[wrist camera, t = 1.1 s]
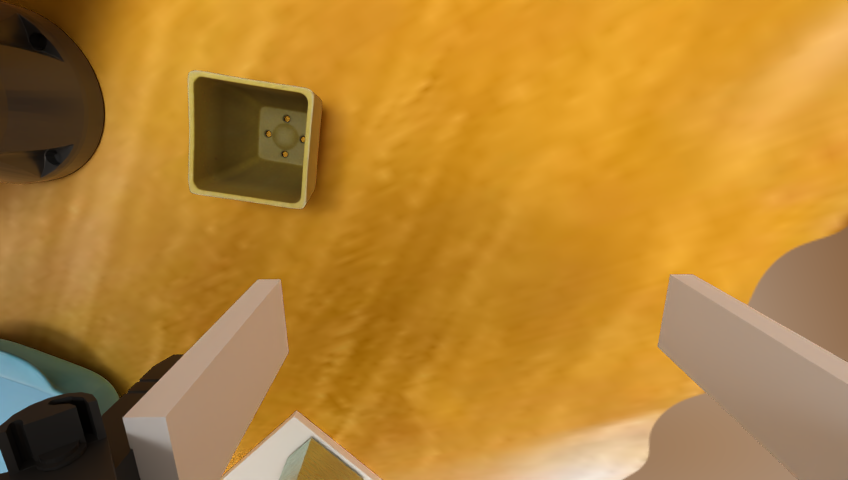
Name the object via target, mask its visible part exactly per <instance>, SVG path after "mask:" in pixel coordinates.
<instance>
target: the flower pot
mask: <svg viewBox="0 0 848 480" xmlns="http://www.w3.org/2000/svg"><path fill="white" fill-rule="evenodd" d="M188 103H189V174H188V181H189V188H190V192H191V193H193V194H197V195H204V196H211V197H218V198H226V199H233V200H240V201H247V202H253V203H259V204H266V205H273V206H279V207H286V208H292V209H303V208H304V207H305V205H306V204H307V202H308V200H309V199H310V197H311V195H312V193H313V192H314V189H315V186H316V177H317V162H318V149H319V137H320V126H321V116H322V101H321V99H320V98H319V97H318V96H317V95H316V94H315V93H313V92H312V91H311V90H310V89H308V88H304V87H297V86H291V85H284V84H277V83H271V82H264V81H258V80H251V79H245V78H239V77H233V76H227V75H222V74H216V73H211V72H205V71H197V70H195V71H191V72H189V74H188ZM285 116H289V117H290V121H289V122H286V121H285V120H284V117H285ZM266 131H270V132H271V137H267V136H266ZM302 136H304V137H305V142H304V143H303V142H301V137H302ZM283 151H286V152H287V153H288V156H287V157H283V156H282V152H283Z"/></svg>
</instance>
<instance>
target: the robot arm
mask: <svg viewBox="0 0 848 480" xmlns="http://www.w3.org/2000/svg"><path fill="white" fill-rule="evenodd" d="M103 121H104V109H103V100H102V95H101V91H100V87H99V84H98V81H97V79H96V76H95V74H94V72H93V70H92V68H91V66H90V64H89V62H88V61H87V59H86V58H85V56H84V55H83V53H82V52H81V50H80V49H79V48H78V47H77V45H76V44H75V43H74V42H73V41H72V40H71V39H70V38H69V37H68V36H67V35H66V34H65V33H64V32H63V31H62V30H61V29H60V28H58V27H57V26H56V25H54V24H53V23H52V22H50V21H49V20H47V19H46V18H44V17H42V16H40V15H39V14H37V13H35V12H32V11H30V10H28V9H25V8H22V7H19V6H16V5H12V4H9V3H5V2H2V1H0V182H2V183H12V184H27V183H35V182H42V181H48V180H54V179H58V178H61V177H64V176H67V175H69V174H71V173H73V172H74V171H76V170H77V169H79V168H80V167H81V166H83V165H84V164H85V163H86V162H87V161H88V159H89V158H90V157H91V156H92V154H93V153H94V151H95V149H96V147H97V145H98V143H99V140H100V137H101V134H102V129H103ZM658 348H660V349H661V350H662V351H663V352H664V353H665V354H666V355H667V356H668V357H669V358H670V359H671V360H672V361H673V362H674V363H675V364H676V365H677V366H679V367H680V368H681V369H682V370H683V371H684V372H685V373H686V374H687V375H688V376H689V377H690V378H691V379H692V380H693V381H694V382H695V383H696V384H697V385H699V386H700V387H701V388H702V389H703V390H704V391H705V392H706V393H707V394H708V395H709V396H710V397H711V398H713V400H715V402H717V403H718V404H719V405H720V406H721V407H722V408H723V409H724V410H725V411H726V412H727V413H728V414H729V415H730V416H731V417H732V418H733V419H734V420H735V421H737V422H738V423H739V424H740V425H741V426H742V427H743V428H744V429H745V430H746V431H747V432H748V433H749V434H750V435H751V436H752V437H753V438H754V439H756V440H757V441H758V442H759V443H760V444H761V445H762V446H763V447H764V448H765V449H766V450H767V451H768V452H769V453H770V454H771V455H772V456H773V457H775V458H776V459H777V460H778V461H779V462H780V463H781V464H782V465H783V466H784V467H785V468H786V469H787V470H788V471H789V472H790V473H791V474H793V475H794V476H795V477H796V478H797V479H798V480H848V362H847V361H845V360H843V359H842V358H840V357H838V356H836V355H834V354H832V353H830V352H829V351H827V350H825V349H823V348H822V347H820V346H818V345H816V344H815V343H813V342H811V341H809V340H807V339H806V338H804V337H802V336H800V335H798V334H797V333H795V332H793V331H792V330H790V329H788V328H786V327H784V326H783V325H781V324H779V323H777V322H776V321H774V320H772V319H770V318H768V317H767V316H765V315H763V314H762V313H760V312H758V311H756V310H755V309H753V308H751V307H749V306H747V305H746V304H744V303H742V302H740V301H739V300H737V299H735V298H733V297H732V296H730V295H728V294H726V293H725V292H723V291H721V290H719V289H718V288H716V287H714V286H712V285H710V284H709V283H707V282H705V281H703V280H702V279H700V278H698V277H696V276H695V275H693V274H682V275H670V279H669V285H668V290H667V296H666V302H665V307H664V313H663V319H662V325H661V330H660V336H659V342H658ZM288 353H289V349H288V340H287V331H286V322H285V313H284V304H283V294H282V285H281V279H258V280H257V281H256V282H255V283H254V284H253V285H252V286H251V287H250V288H249V289H248V290H247V291H246V292H245V293H244V294H243V295H242V296H241V297H240V298H239V299H238V300H237V301H236V302H235V303H234V304H233V305H232V306H231V307H230V308H229V309H228V310H227V311H226V312H225V313H224V314H223V315H222V316H221V318H220V319H219V320H218V321H217V322H216V323H215V324H214V325H213V326H212V327H211V328H210V329H209V330H208V331H207V332H206V333H205V334H204V335H203V336H202V337H201V338H200V339H199V340H198V341H197V342H196V343H195V344H194V345H193V346H192V347H191V348H190V349H189V350H188V351H187V352H186V353H185V354H184V355H172V356H171V357H169V358H167V359H165V360H164V361H162V362H160V363H158V364H157V365H155V366H153V367H152V368H151V369H150V370H149V371H148V372H147V373H146V374H145V375H144V376H143V377H142V378H141V379H140V381H139V382H137V383H135V384H134V385H133V386H132V387H131V388H130V389H129V390H128V393H127V394H124V395H123V396H122V397H121V398H120V399H119V400H118V401H116V402H115V403H114V404H113V405H112V406H111V407H110V408H109V409H108V410H107V411H106V412H105V413H104V414H103V415H102V416H101V413H100V409H99V405H98V402H97V399H96V398H95V397H94V396H93V394H89V393H84V392H76V393H66V394H62V395H58V396H54V397H50V398H47V399H44V400H42V401H39V402H37V403H34V404H32V405H30V406H28V407H26V408H24V409H23V410H21V411H19V412H17V413H15V414H14V415H12V416H11V417H10V418H9V419H8V420H6V421H5V422H4V423H3V424H2V425H0V450H1V453H2V456H3V459H4V462H5V464H6V467H7V470H8V472H5V473H1V474H0V480H220V478H221V476H222V474H223V473H224V471H225V469H226V467H227V465H228V463H229V461H230V460H231V458H232V456H233V454H234V452H235V450H236V449H237V447H238V445H239V443H240V441H241V439H242V438H243V436H244V434H245V432H246V430H247V428H248V426H249V425H250V423H251V421H252V419H253V417H254V415H255V414H256V412H257V410H258V408H259V406H260V404H261V403H262V401H263V399H264V397H265V395H266V393H267V391H268V390H269V388H270V386H271V384H272V382H273V380H274V379H275V377H276V375H277V373H278V371H279V369H280V368H281V366H282V364H283V362H284V360H285V358H286V356H287V355H288Z"/></svg>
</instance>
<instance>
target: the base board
mask: <svg viewBox="0 0 848 480" xmlns="http://www.w3.org/2000/svg"><path fill="white" fill-rule="evenodd" d="M310 438H313V439H314V440H315V441H316V442H318V443H319V444H320V445H321V446H323V447H324V448H325V449H326V450H328V451H329V452H330V453H331V454H333V455H334V456H335V457H336V458H338V459H339V460H340V461H341V462H343V463H344V464H345V465H346V466H348V467H349V468H350V469H351V470H353V471H354V472H355V473H356V474H358V475H359V476H360V477H361V478H363V480H382V479H381V478H380V477H378V476H377V475H376V474H375V473H373V472H372V471H371V470H370V469H368V468H367V467H366V466H365V465H364V464H362V463H361V462H360V461H359V460H357V459H356V458H355V457H354V456H352V455H351V454H350V453H349V452H347V451H346V450H345V449H344V448H343V447H341V446H340V445H339V444H338V443H336V442H335V441H334V440H333V439H331V438H330V437H329V436H328V435H327V434H325V433H324V432H323V431H322V430H320V429H319V428H318V427H317V426H315V425H314V424H313V423H312V422H310V421H309V420H308V419H307V418H306V417H304V416H303V415H302V414H301V413H299V412H298V411H297V410H296V411H295V412H294V413H293V414H292V415H291V416H290V417H289V418H287V419H286V420H285V421H284V422H283V423H282V424H281V425H280V426H278V427H277V428H276V429H275V430H274V431H273V432H272V433H270V434H269V435H268V436H267V437H266V438H265V439H264V440H263V441H261V442H260V443H259V444H258V445H257V446H256V447H255V448H254V449H252V450H251V451H250V452H249V453H248V454H247V455H246V456H244V457H243V458H242V459H241V460H240V461H239V462H238V463H237V464H235V465H234V466H233V467H232V468H231V469H230V470H229V471H228V472H226V473H225V474H224V475H223V476H222V477H221V478H220V480H279V478H280V476H281V473H282V471H283V468H284V465H285V463H286V460H287V458H288V457H289V456H290V455H292V454H293V453H294V452H295V451H296V450H297V449H299V448H300V447H301V446H302V445H303V444H304V443H306V442H307V441H308V440H309V439H310Z"/></svg>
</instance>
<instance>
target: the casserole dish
mask: <svg viewBox="0 0 848 480" xmlns="http://www.w3.org/2000/svg"><path fill="white" fill-rule="evenodd" d="M76 392H84V393H89V394H93V396H94V397H95V398H96V399H97V402H98V405H99V409H100V413H101V416H102V415H103V414H104V413H105V412H106V411H107V410H108V409H109V408H110V407H111V406H112V405H113V404H114V403H115V402H116V401H118V400H119V396H118V394H117V392H116V390H115V388H114V387H113V386H112V385H111V384H110V383H109V382H108V381H107V380H106V379H105V378H103V377H102V376H100V375H99V374H97V373H95V372H93V371H91V370H89V369H86V368H84V367H81V366H79V365H76V364H73V363H71V362H68V361H66V360H63V359H60V358H58V357H55V356H52V355H49V354H47V353H44V352H41V351H38V350H36V349H33V348H30V347H27V346H24V345H21V344H19V343H15V342H12V341H8V340H4V339H0V425H2V424H3V423H4V422H5V421H6V420H8V419H9V418H10V417H11V416H12V415H14V414H15V413H17V412H19V411H21V410H23V409H24V408H26V407H28V406H30V405H32V404H34V403H37V402H39V401H42V400H44V399H47V398H50V397H54V396H58V395H62V394H66V393H76ZM5 472H8V470H7V467H6V464H5V462H4V459H3V456H2V453H1V450H0V474H1V473H5Z"/></svg>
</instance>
